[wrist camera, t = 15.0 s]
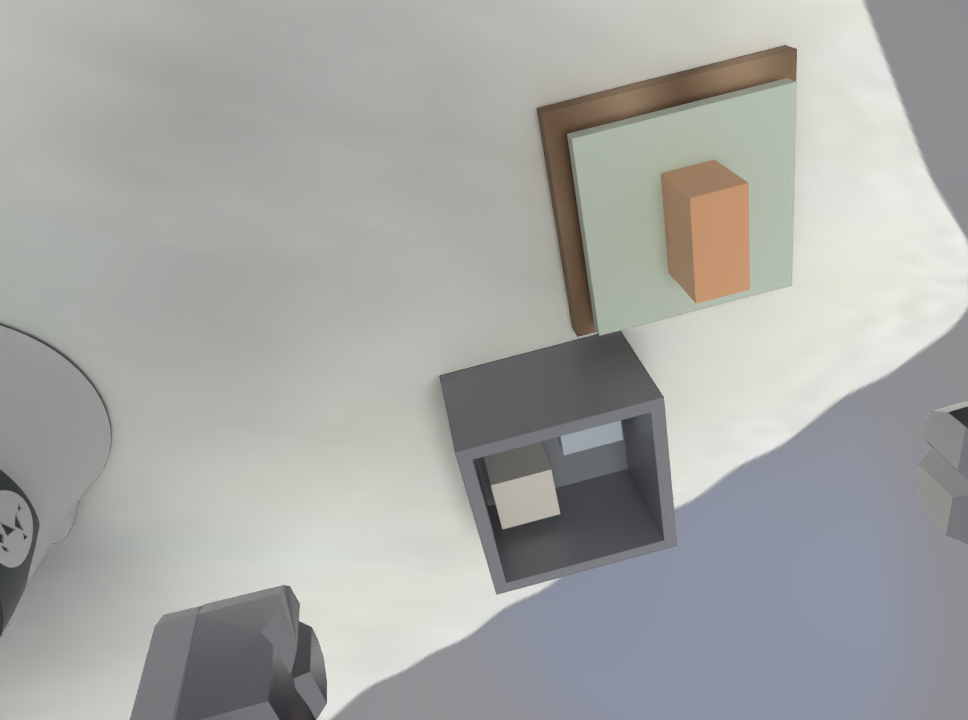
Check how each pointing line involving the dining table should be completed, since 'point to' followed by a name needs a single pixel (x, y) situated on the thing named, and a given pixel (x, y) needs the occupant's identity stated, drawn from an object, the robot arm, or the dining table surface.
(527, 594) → the dining table surface
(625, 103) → the walnut board
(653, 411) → the storage box
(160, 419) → the dining table surface
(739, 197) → the lid
